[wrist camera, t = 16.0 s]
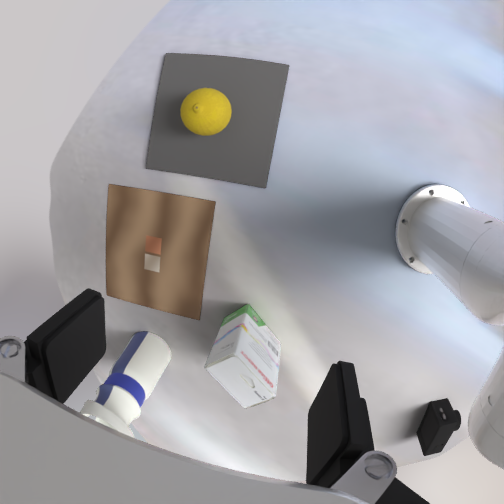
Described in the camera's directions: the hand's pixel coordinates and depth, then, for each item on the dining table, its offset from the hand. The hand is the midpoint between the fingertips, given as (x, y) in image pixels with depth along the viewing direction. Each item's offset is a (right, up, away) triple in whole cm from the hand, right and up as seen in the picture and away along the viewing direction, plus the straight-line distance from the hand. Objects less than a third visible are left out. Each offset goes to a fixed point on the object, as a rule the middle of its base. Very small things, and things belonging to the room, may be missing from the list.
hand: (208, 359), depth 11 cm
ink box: (+2, -8, +35) cm, 35 cm away
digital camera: (+39, -30, +38) cm, 62 cm away
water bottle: (-16, -13, +38) cm, 43 cm away
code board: (-12, +4, +32) cm, 34 cm away
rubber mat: (-3, +21, +25) cm, 33 cm away
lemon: (-3, +21, +25) cm, 32 cm away
